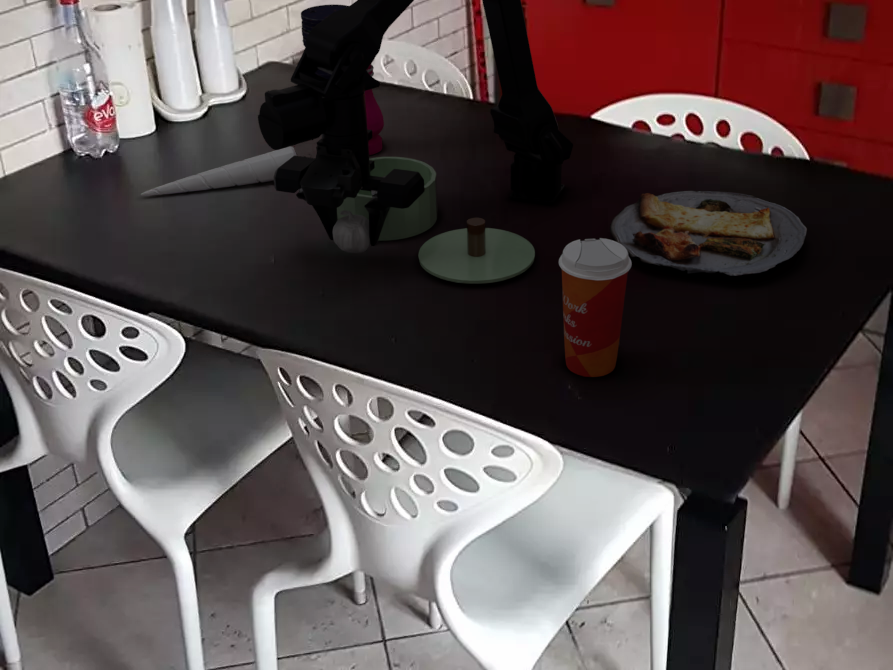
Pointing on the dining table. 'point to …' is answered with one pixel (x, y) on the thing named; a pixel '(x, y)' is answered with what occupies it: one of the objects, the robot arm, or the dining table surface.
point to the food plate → (709, 232)
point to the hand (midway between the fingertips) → (353, 241)
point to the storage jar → (313, 18)
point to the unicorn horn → (230, 174)
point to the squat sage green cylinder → (398, 219)
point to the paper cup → (593, 303)
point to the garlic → (352, 233)
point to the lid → (476, 254)
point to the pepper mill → (373, 118)
